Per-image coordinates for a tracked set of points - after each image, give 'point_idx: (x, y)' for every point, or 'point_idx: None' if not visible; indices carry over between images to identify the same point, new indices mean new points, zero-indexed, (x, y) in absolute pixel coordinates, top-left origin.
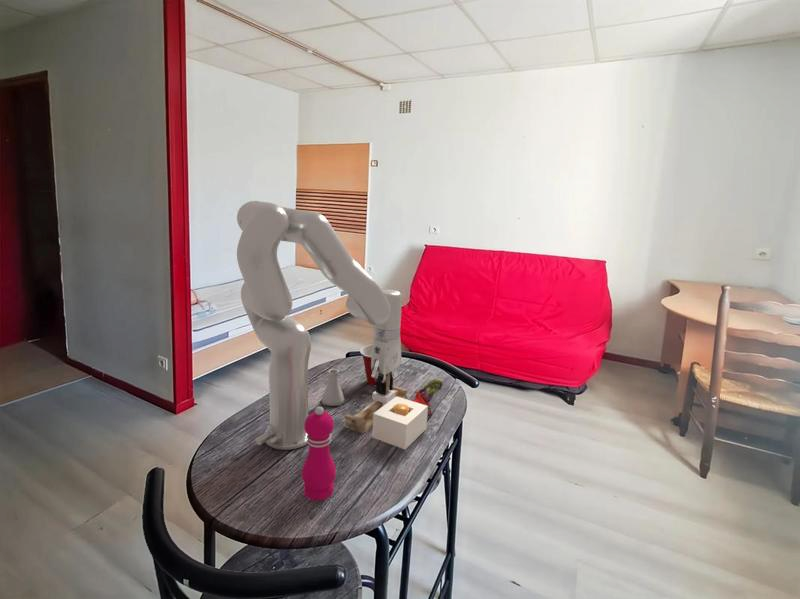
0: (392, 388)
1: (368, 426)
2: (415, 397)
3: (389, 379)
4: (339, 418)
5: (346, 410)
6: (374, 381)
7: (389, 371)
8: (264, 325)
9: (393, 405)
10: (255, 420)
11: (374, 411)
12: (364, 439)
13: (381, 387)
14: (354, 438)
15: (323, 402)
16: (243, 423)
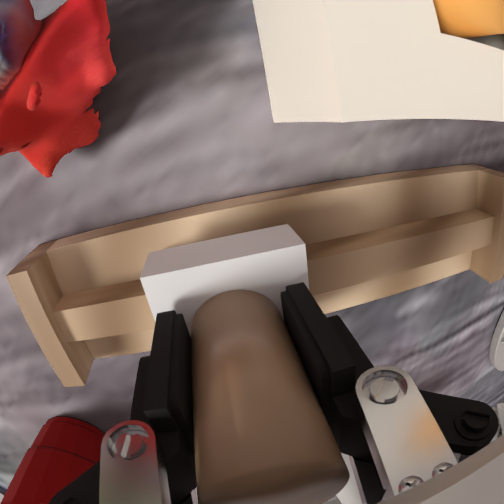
0: (157, 317)
1: (454, 169)
2: (31, 136)
3: (242, 403)
4: (428, 318)
5: (365, 353)
6: (98, 445)
7: (489, 491)
8: None
9: (481, 53)
10: (487, 402)
11: (367, 236)
12: (490, 134)
13: (356, 345)
14: (499, 170)
15: None
16: (498, 399)
